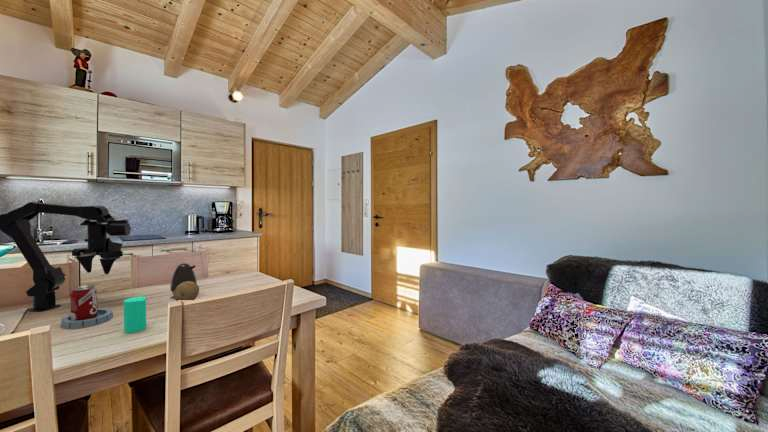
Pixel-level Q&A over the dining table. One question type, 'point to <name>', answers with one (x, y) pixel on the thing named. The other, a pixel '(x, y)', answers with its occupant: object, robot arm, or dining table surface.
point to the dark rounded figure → (182, 275)
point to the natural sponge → (186, 291)
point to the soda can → (84, 303)
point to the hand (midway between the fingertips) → (98, 273)
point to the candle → (134, 314)
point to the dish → (101, 318)
